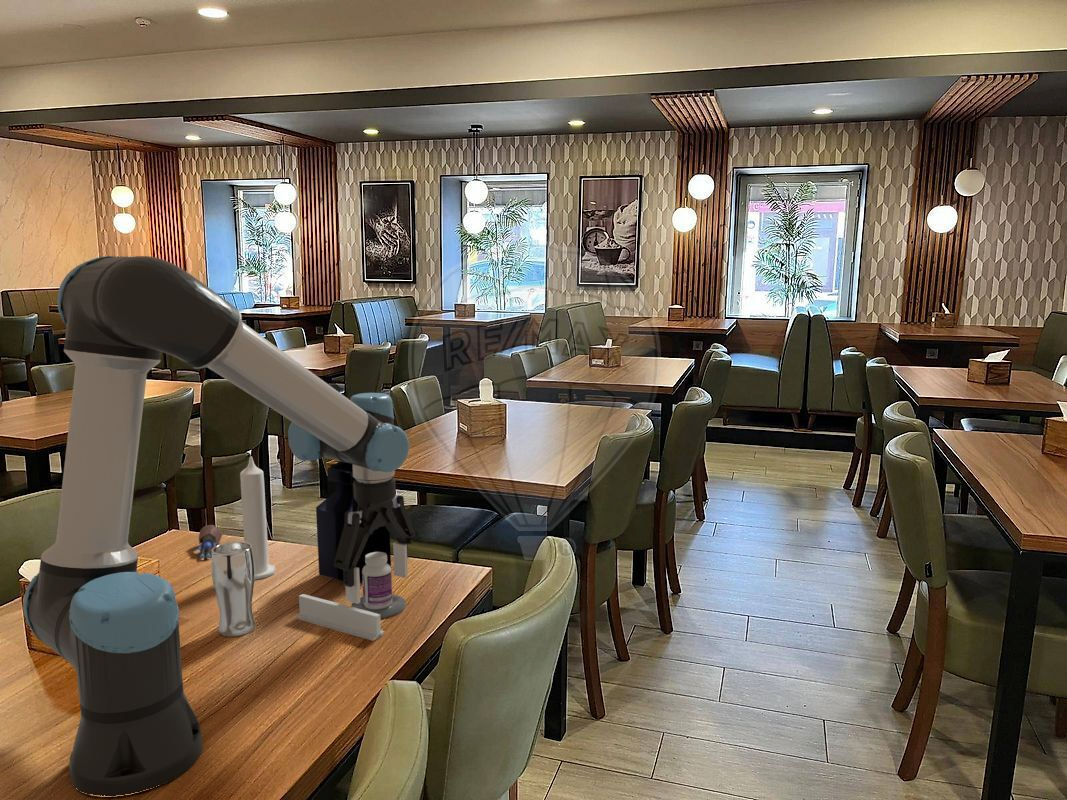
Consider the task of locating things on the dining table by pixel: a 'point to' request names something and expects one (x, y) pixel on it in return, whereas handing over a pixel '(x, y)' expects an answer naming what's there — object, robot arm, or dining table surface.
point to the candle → (255, 518)
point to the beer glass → (234, 587)
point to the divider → (340, 617)
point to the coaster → (392, 610)
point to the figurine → (208, 540)
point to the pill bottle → (377, 581)
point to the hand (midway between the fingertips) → (378, 588)
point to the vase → (333, 523)
